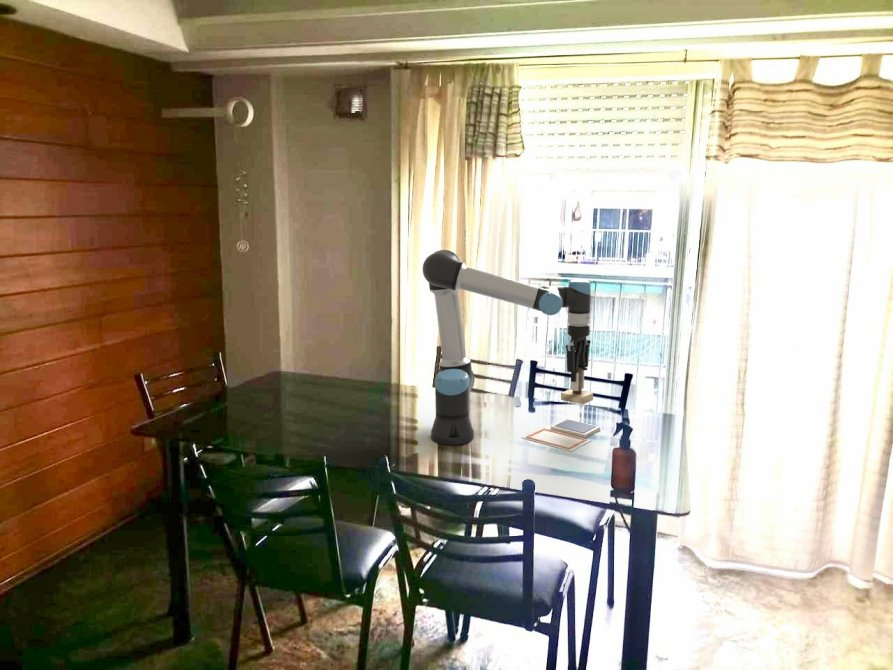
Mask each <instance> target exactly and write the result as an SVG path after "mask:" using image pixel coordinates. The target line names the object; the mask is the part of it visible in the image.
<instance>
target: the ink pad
mask: <svg viewBox="0 0 893 670" xmlns="http://www.w3.org/2000/svg"><path fill="white" fill-rule="evenodd" d="M550 430H553V431H557V432H561V433H565V434H569V435H573V436H577V437H581V438H585V439H587V438H588V437H590V436H591V435H593V434H596V433H597V432H599V431H601V426H598V425H595V424H592V423H591V424H590V423H587V422H583V421H577V420H574V419H569V418H564V419H563V420H561V421H559V422H557V423H554V424H552V425H550Z"/></svg>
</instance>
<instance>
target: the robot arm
mask: <svg viewBox="0 0 893 670" xmlns="http://www.w3.org/2000/svg"><path fill="white" fill-rule="evenodd" d="M422 264H423V265H422V275H423V277H424V279H425V280H426V281H427V282H428V286H429V291H430V292H431V293H432V294H434V299H435V308H436V316H437V323H438V331H439V333H438V335H439V343H440V347H441V348H440V349H441V356H442V357H441V358H442V359H441V360H440V362H439V363H438V366H439V367H438V368H439V372H437V374H436V375H435V379H434V389H435V390H434V391H435V393H434V394H435V418H434V421H433V425H432V428H431V430H430V439H431V441H433V442H434V443H437V444H440V445H446V446H447V445H448V446H458V445H464V444H467V443H470V442H472V441H473V440H474V439H475V431H474V428H473V425H472V422H471V419H470V394H471V392H472V390H473V388H474V384H475V379H476V378H475V374H474V372H473V370H472V360H471V359H470V358H469V357H468V356H467V354H466V345H465V337H464V328H463V327H464V326H463V320H462V312H461V304H460V294H459V291H460V290H463V291H466V292H467V291H468V292H471V293H474V294H478V295H482V296H485V297H489V298H493V299H495V300H500V301H504V302H507V303H511V304H514V305H518V306H522V307H525V308H529V309H532V310H535V311H538V312H542V313H543V314H544V315H547V316H555V315H557V314H558V313H560V311H561V310H562V308H564V309H565V308H567V309H568V310H567V313H568V314H567V323H568V325H567V335H568V336H569V337H570V341H569V344H566V345H565V349H566V350H565V351H566V368H567V369H566V371H567V372H568V373H570V389H571V390H574V391H578V382H579V373H577V371H578V367H579V368H582V390H584V389H585V371H588V367H589V359H590V358H589V357H590V345H591V339H587V337H589V336H590V330H591V326H590V324H591V301H592V299H591V298H592V294H591V293H592V290H591V286H592V285H591V282H590V281H589V280H586V279H572V280H570V281H569V282H568V285H566V286H565V285H561V286H560V285H559V286H558V285H556V286H555V285H539V286H538V285H533V284H529V283H525V282H521V281H519V280H514V279H511V278H507V277H504V276H499V275H496V274H492V273H489V272H486V271H482V270H478V269H474V268H471V267H467V266H466V264H465V263H464V262H461V259H460V257H459V256H458V254H456V253H455V252H453V251H451V250H447V249H441V250H436V251H435V252H433V253H432V254H430V255H428V256H427V257H426V258H425V260H424V261H423V263H422Z"/></svg>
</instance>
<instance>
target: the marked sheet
mask: <svg viewBox="0 0 893 670" xmlns="http://www.w3.org/2000/svg"><path fill="white" fill-rule="evenodd" d="M521 439H523V440H524V439H525V440H528V441H531V442H535V443H539V444H543V445H545V446H550V447H554V448H557V449H561V450H565V451H569V452H573V451H575V450H578V449H579V448H580V447H583V446H585V445H587V444H588V443H589V442H592V439H588V438H583V437H579V436H575V435H571V434H567V433H563V432H559V431H555V430H551V429H550V428H549V429H548V428H546V427H545V428H544V427H541V428H538V429H535V430H534V431H533V432H530V433H528V434H526V435H524V436H522V437H521Z"/></svg>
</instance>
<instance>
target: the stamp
mask: <svg viewBox="0 0 893 670" xmlns="http://www.w3.org/2000/svg"><path fill="white" fill-rule="evenodd" d="M577 373H579V382H578V391H574V390H571V388H569V389H566V390H565V391H562V392H560V400H561V401H564V402H569V403H574V404H578V405H579V404H580V405H585V404H587V403H589V402H591V401H594V392H590V391H586V390H583V389H582V368H579V367H578V371H577Z"/></svg>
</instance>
